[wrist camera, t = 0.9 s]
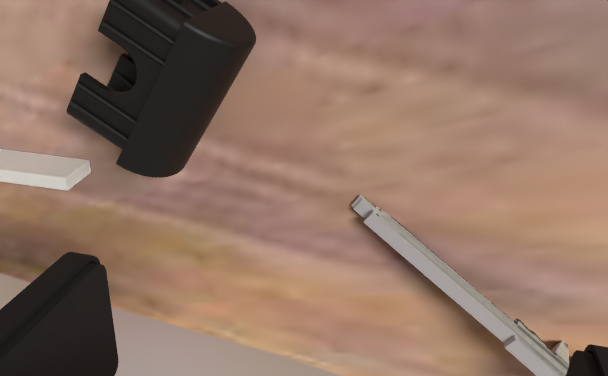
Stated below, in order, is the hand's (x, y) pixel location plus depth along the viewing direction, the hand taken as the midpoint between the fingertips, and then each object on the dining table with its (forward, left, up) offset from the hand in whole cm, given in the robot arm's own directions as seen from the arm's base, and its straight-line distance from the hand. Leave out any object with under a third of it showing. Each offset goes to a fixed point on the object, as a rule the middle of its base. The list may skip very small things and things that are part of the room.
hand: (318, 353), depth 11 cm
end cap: (+2, -13, -25) cm, 28 cm away
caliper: (+16, +7, -25) cm, 30 cm away
